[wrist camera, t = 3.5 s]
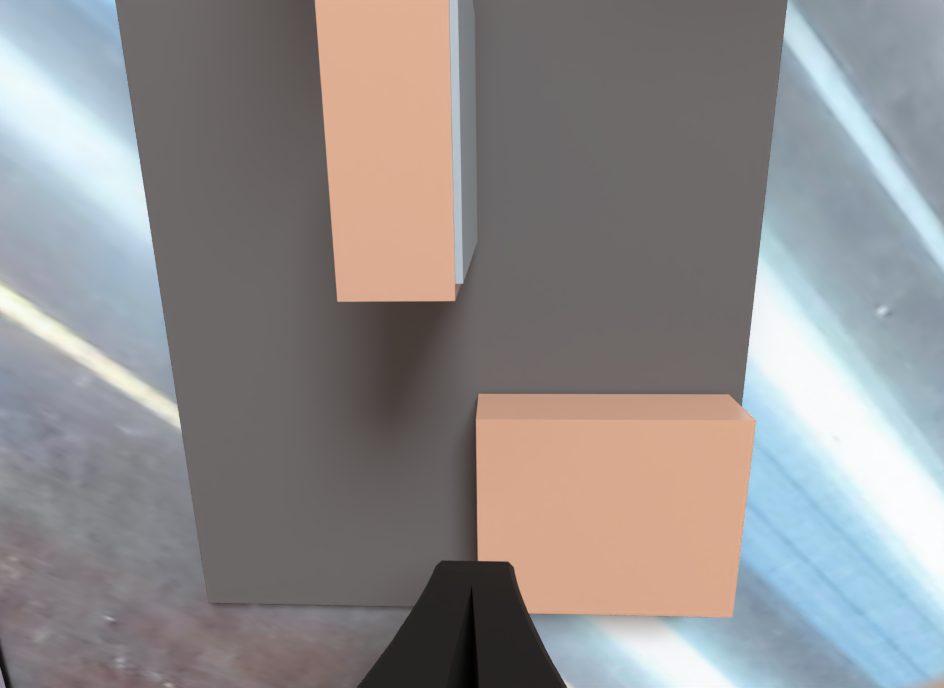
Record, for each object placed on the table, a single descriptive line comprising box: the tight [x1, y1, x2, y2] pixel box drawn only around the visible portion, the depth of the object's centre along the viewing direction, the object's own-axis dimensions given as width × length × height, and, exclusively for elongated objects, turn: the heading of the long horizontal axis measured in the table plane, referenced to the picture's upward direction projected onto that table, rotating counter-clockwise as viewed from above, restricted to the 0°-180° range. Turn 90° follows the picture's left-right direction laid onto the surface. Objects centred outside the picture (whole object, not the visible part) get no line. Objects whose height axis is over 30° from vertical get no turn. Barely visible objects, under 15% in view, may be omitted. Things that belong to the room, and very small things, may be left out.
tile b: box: [315, 0, 478, 302], centre depth 10 cm, size 2×5×6 cm, turn 1°
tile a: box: [476, 394, 756, 617], centre depth 15 cm, size 2×5×6 cm
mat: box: [115, 0, 787, 607], centre depth 15 cm, size 14×16×1 cm
